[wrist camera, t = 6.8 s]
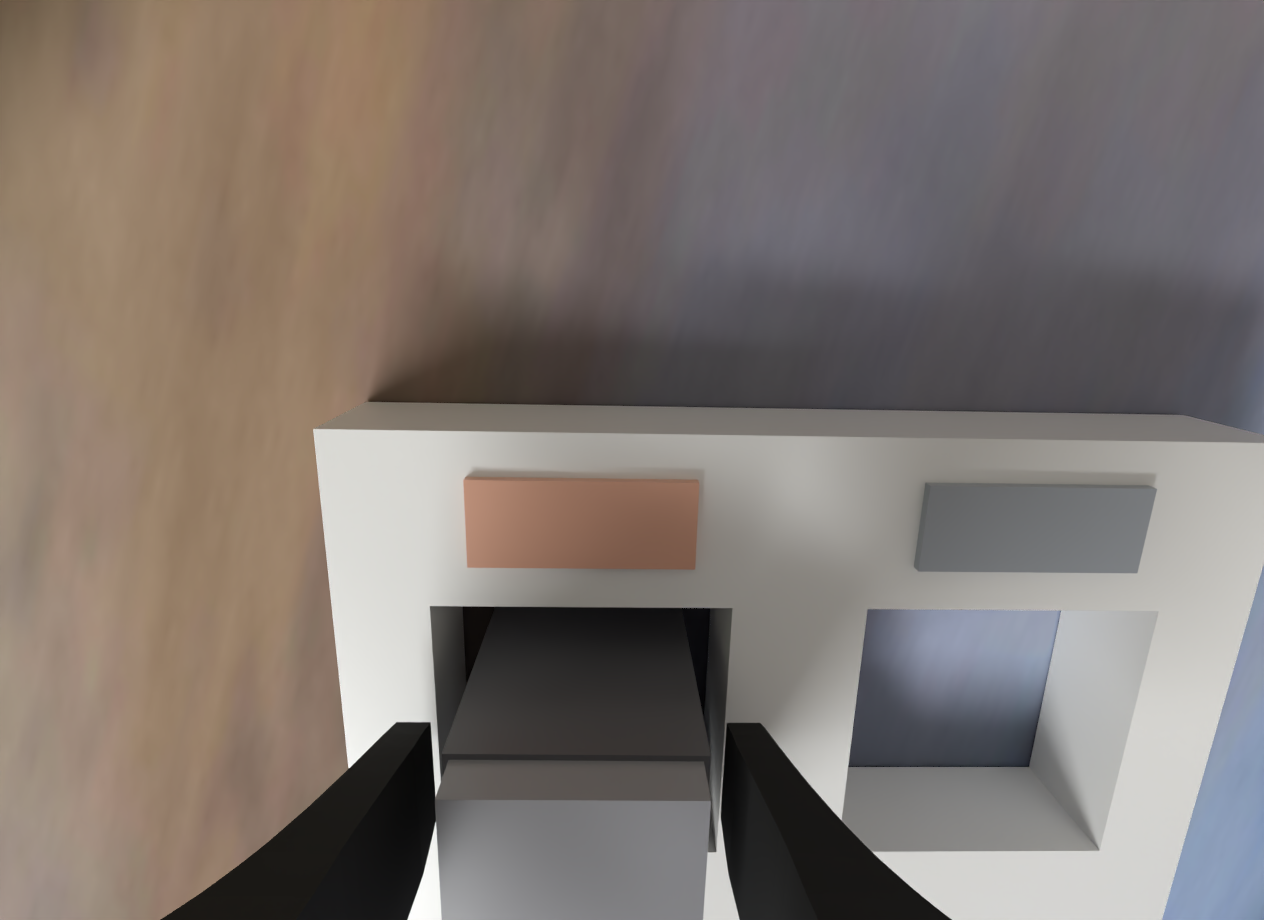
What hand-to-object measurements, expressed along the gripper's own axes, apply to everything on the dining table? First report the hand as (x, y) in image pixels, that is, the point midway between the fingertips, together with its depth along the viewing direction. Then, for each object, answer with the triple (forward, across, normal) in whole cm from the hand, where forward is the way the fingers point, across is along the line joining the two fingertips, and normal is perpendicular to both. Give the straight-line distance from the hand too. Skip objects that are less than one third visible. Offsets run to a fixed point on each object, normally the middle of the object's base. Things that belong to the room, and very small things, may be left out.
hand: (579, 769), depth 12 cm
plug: (+3, 0, 0) cm, 4 cm away
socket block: (+3, -4, 0) cm, 5 cm away
